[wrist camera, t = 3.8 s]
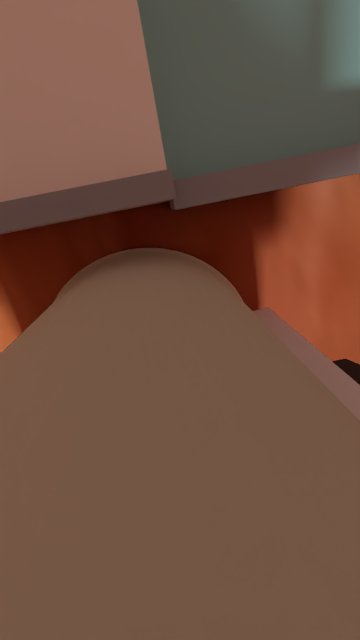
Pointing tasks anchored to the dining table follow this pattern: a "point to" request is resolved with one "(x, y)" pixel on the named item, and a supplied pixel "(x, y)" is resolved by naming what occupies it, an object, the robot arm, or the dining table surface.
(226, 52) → the two-tone serving tray
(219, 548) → the can
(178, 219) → the dining table surface
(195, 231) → the dining table surface
